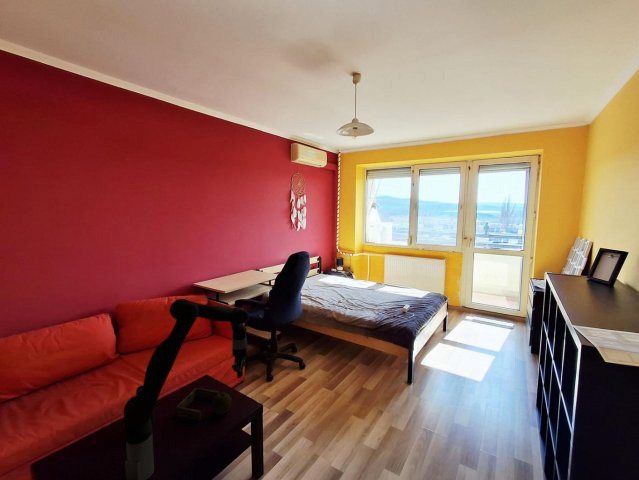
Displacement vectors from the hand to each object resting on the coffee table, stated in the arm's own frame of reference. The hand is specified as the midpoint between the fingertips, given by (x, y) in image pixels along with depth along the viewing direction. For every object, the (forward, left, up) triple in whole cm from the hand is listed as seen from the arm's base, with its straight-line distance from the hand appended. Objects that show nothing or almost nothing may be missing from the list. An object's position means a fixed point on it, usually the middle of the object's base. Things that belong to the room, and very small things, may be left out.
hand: (240, 376), depth 156 cm
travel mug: (-18, +43, -22) cm, 52 cm away
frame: (0, +25, -22) cm, 33 cm away
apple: (0, +11, -22) cm, 25 cm away
